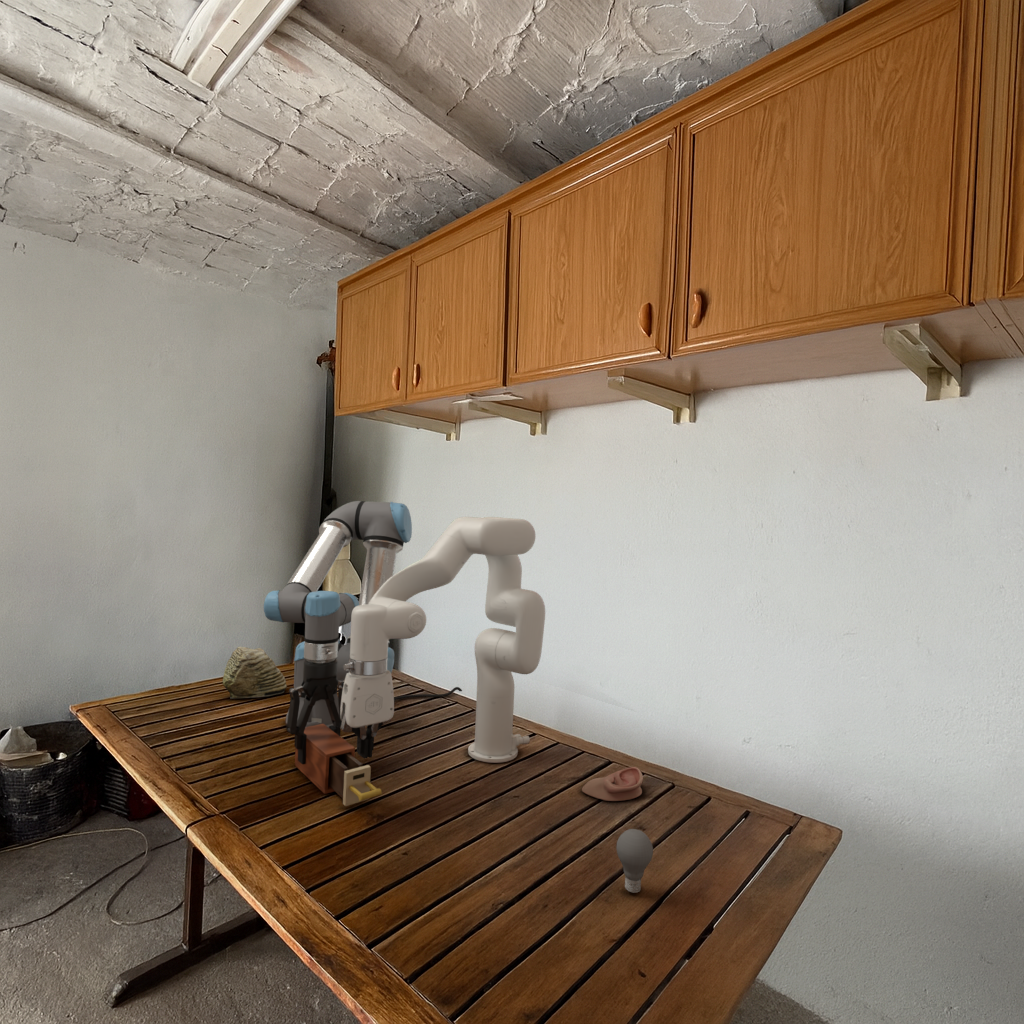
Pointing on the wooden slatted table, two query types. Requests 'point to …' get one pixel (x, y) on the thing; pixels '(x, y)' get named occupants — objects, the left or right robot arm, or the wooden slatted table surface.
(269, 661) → the fossil
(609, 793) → the anatomical model
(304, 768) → the cabinet
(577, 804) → the wooden slatted table surface
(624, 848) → the light bulb
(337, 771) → the drawer
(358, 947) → the wooden slatted table surface
